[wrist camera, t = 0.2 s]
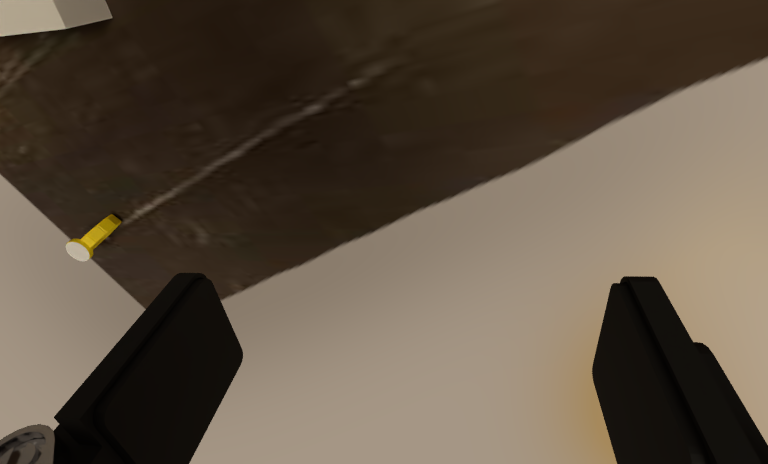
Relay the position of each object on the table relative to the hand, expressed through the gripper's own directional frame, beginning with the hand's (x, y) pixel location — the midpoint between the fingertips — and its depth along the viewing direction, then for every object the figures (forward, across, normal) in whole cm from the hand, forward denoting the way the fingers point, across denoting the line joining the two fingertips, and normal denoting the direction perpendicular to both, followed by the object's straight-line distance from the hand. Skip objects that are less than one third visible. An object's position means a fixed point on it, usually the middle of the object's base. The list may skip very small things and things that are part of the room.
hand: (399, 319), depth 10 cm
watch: (+31, +42, +17) cm, 55 cm away
